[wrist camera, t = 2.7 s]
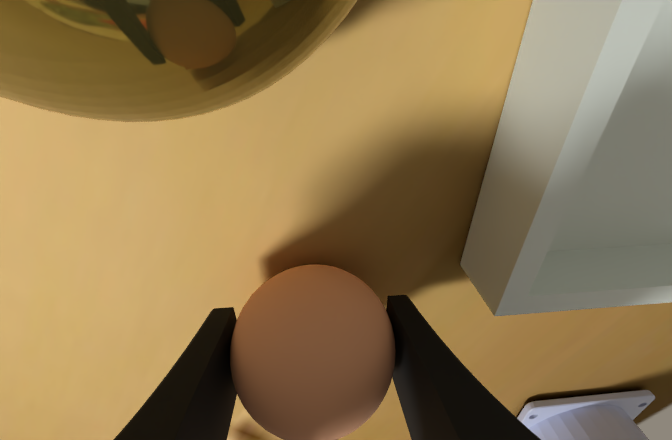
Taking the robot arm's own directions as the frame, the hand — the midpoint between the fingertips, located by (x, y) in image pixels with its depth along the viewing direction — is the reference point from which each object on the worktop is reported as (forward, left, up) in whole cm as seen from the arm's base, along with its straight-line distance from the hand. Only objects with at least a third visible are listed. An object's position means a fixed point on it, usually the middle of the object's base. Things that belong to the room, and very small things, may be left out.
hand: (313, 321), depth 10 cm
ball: (0, 0, -2) cm, 2 cm away
